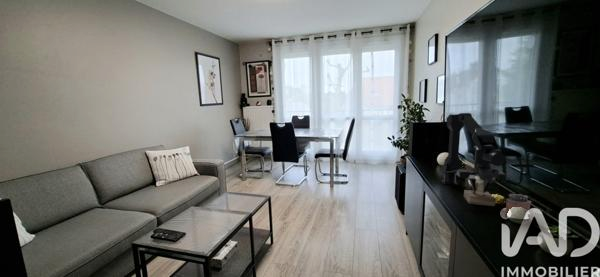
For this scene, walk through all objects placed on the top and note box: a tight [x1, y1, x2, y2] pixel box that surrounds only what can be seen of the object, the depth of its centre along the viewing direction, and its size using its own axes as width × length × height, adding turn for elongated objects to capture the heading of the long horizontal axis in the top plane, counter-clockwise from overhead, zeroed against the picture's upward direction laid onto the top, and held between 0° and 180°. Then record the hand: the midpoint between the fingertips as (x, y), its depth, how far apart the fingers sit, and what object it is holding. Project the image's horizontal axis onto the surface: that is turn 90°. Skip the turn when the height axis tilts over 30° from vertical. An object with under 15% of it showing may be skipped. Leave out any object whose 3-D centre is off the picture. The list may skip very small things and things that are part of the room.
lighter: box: [504, 193, 532, 218], centre depth 104 cm, size 8×3×10 cm, turn 71°
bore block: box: [463, 189, 496, 207], centre depth 121 cm, size 9×10×4 cm
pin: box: [475, 181, 484, 196], centre depth 120 cm, size 3×3×8 cm
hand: (479, 192), depth 121 cm, fingers open, 4 cm apart
